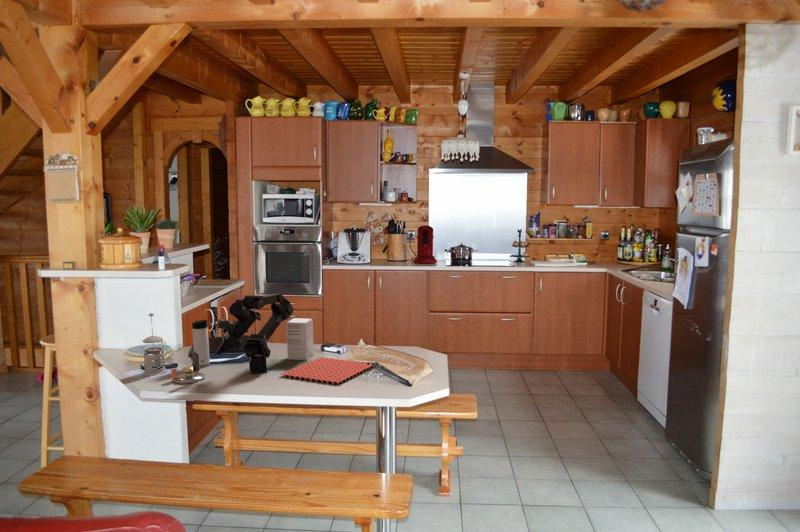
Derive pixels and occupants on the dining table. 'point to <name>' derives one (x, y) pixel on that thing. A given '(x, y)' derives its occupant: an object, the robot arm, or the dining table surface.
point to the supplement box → (300, 339)
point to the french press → (156, 356)
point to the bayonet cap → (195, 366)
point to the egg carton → (327, 370)
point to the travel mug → (201, 342)
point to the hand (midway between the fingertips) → (217, 354)
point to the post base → (189, 380)
